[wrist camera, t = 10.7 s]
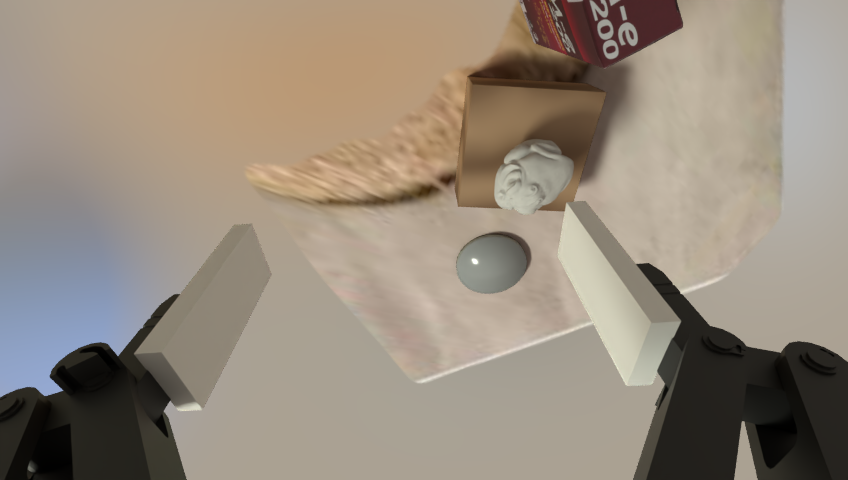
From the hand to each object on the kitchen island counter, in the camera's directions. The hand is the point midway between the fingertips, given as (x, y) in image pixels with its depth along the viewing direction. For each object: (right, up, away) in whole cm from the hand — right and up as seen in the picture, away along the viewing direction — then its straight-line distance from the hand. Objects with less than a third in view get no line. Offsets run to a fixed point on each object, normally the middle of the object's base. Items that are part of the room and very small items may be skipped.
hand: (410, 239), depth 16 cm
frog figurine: (+11, +8, +20) cm, 24 cm away
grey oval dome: (+9, -3, +32) cm, 34 cm away
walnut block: (+10, +11, +24) cm, 29 cm away
